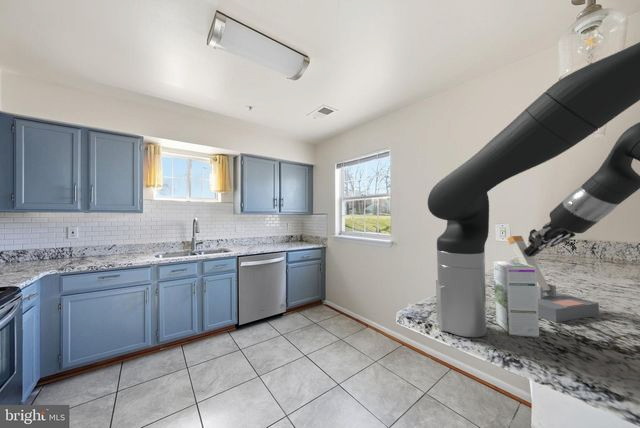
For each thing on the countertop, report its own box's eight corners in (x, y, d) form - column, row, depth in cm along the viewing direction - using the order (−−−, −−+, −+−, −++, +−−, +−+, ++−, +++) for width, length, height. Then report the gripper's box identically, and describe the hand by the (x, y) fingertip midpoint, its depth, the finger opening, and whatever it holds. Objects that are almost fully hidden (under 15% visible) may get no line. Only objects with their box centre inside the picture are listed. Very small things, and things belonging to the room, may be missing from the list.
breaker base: (498, 301, 69) (497, 280, 69) (535, 296, 72) (535, 276, 72) (555, 322, 55) (555, 296, 55) (598, 315, 58) (598, 290, 58)
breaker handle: (535, 293, 64) (507, 238, 71) (545, 292, 65) (515, 238, 72) (542, 292, 62) (512, 236, 70) (552, 291, 63) (521, 235, 70)
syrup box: (540, 337, 49) (539, 266, 49) (508, 335, 50) (506, 265, 50) (523, 324, 54) (521, 261, 54) (493, 323, 55) (492, 260, 55)
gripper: (576, 221, 52) (519, 266, 63) (618, 219, 55) (557, 263, 66) (547, 199, 57) (500, 244, 69) (587, 198, 60) (535, 242, 72)
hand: (528, 254), depth 67 cm, fingers closed
